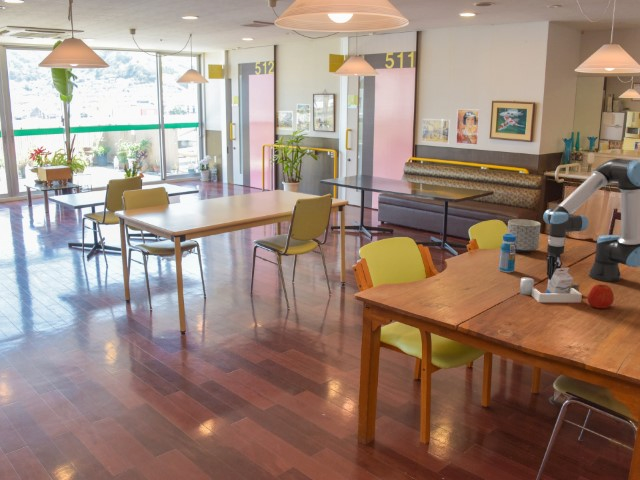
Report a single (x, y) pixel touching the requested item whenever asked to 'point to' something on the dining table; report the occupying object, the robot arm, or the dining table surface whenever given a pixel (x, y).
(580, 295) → the display bracket
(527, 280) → the glossy white capsule
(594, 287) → the apple
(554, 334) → the dining table surface
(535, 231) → the planter
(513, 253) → the beverage bottle
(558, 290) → the ink box
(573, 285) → the grey-brown cube
